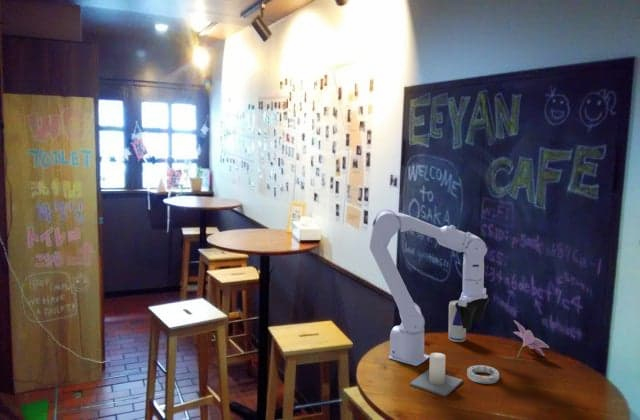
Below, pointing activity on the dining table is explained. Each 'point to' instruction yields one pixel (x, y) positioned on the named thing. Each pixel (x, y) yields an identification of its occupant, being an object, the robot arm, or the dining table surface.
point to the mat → (442, 389)
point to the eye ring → (484, 369)
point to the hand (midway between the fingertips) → (472, 324)
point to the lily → (529, 339)
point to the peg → (437, 368)
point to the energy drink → (455, 324)
